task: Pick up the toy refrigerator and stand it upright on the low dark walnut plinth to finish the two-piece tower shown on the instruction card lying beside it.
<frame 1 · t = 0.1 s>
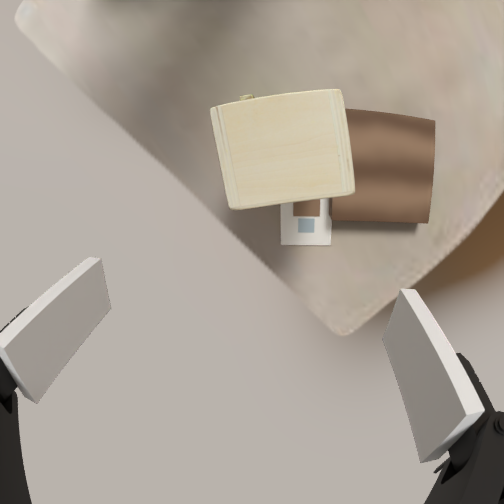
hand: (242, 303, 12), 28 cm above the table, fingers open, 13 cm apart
instruction card: (306, 213, 38), on the table
walnut plinth: (379, 165, 34), on the table
toy refrigerator: (282, 139, 35), on the table
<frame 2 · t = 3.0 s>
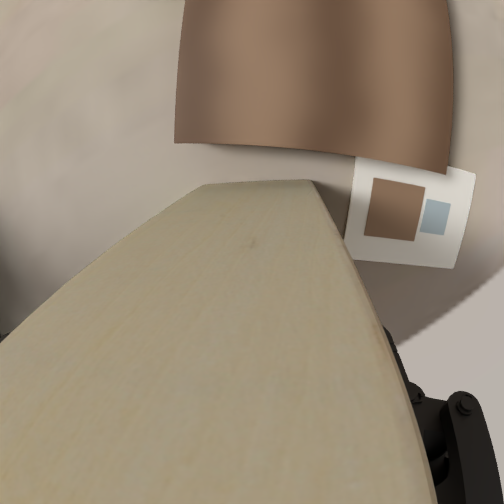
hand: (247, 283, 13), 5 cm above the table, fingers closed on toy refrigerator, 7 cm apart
instruction card: (414, 213, 16), on the table
walnut plinth: (320, 36, 12), on the table
toy refrigerator: (253, 240, 18), on the table, touching gripper
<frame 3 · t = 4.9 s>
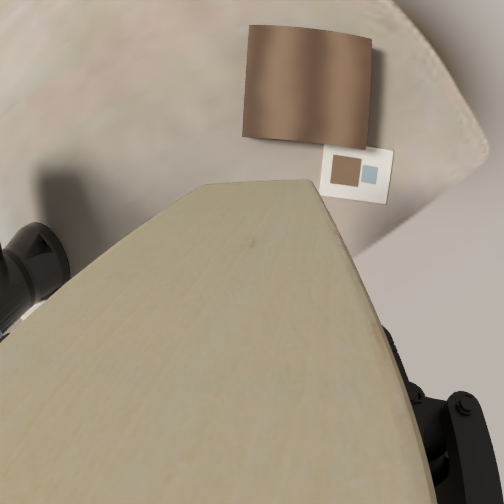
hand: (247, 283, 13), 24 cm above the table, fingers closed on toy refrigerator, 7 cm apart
instruction card: (356, 172, 33), on the table
walnut plinth: (307, 86, 30), on the table
toy refrigerator: (253, 240, 18), point 19 cm above the table, touching gripper
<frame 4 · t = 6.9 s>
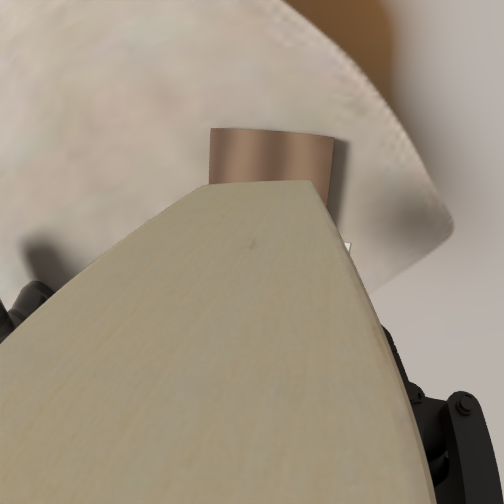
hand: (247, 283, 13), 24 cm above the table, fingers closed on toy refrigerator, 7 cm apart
walnut plinth: (269, 186, 35), on the table
toy refrigerator: (253, 240, 18), point 19 cm above the table, touching gripper
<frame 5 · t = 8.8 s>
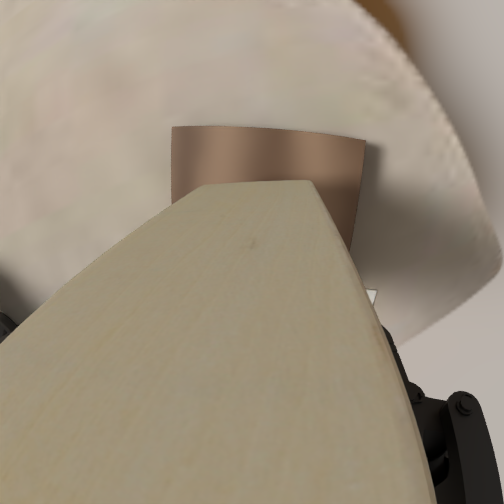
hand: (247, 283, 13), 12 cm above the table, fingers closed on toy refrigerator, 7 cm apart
walnut plinth: (263, 212, 24), on the table
toy refrigerator: (253, 240, 18), point 7 cm above the table, touching gripper
when the fingers open (9 cm above the table, at t = 10.6 s): toy refrigerator stays where it is, resting on walnut plinth.
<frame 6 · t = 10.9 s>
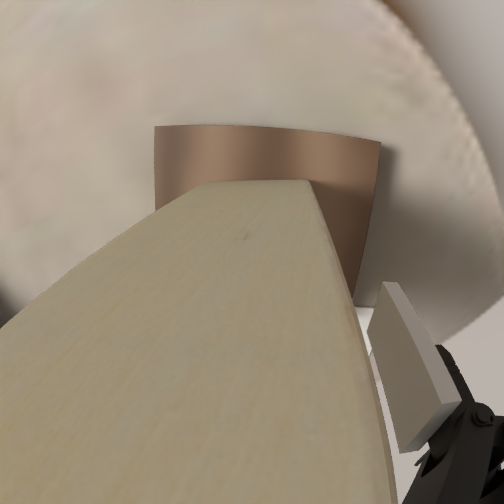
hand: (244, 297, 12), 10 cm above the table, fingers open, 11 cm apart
instruction card: (330, 336, 25), on the table
walnut plinth: (261, 223, 21), on the table
toy refrigerator: (251, 237, 19), point 3 cm above the table, touching walnut plinth
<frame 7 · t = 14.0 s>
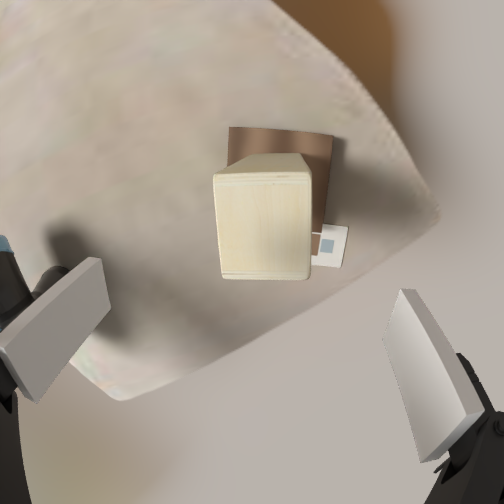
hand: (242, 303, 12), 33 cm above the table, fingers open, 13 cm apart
instruction card: (316, 244, 45), on the table
walnut plinth: (278, 176, 41), on the table
toy refrigerator: (274, 179, 39), point 3 cm above the table, touching walnut plinth
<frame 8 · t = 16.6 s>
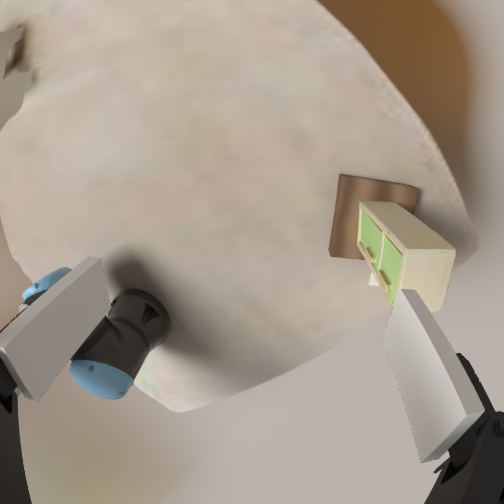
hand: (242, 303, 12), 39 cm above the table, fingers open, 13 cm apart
walnut plinth: (371, 217, 48), on the table
toy refrigerator: (373, 222, 45), point 3 cm above the table, touching walnut plinth
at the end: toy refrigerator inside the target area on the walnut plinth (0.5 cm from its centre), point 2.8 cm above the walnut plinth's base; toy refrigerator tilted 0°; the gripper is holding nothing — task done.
